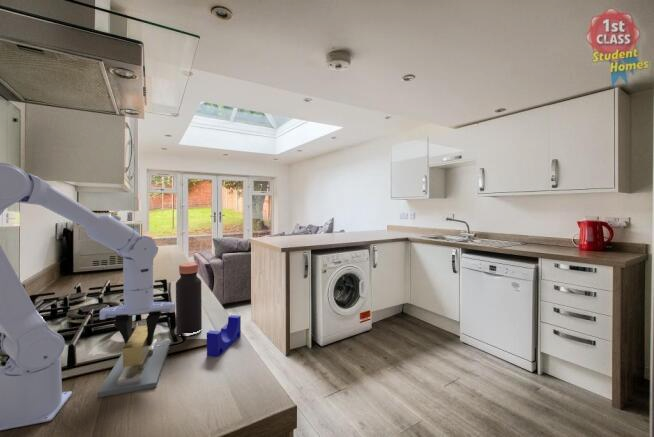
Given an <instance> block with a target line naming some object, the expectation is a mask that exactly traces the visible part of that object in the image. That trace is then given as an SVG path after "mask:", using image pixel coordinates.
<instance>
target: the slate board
mask: <svg viewBox="0 0 654 437" xmlns="http://www.w3.org/2000/svg"><path fill="white" fill-rule="evenodd" d="M170 342H171V343H172V340H171V339H168V340H157V345H164V346H161V347H156V348H155V350H154V352H153V354H151V355H147V356H146V358H145V360H144V362H147V369H146V371H145V374H144V376H143V378H142V381H141V383H135V384H129V385H123V386H118V383H117V381H118V379H119V377H120V375H121V373H122V372H123V370H124V368H125V367H123V352H122V354H121V355H120V356H119V358H118V360H116V363H115V364H114V365H113V368H112V369H111V371H110V372H109V373H108V376H107V377H106V379H105V381H103V383H102V384H101V387H100V388H99V390H98V391H97V398H102V397H108V396H109V397H110V396H114V395H119V394H125V393H131V392H138V391H143V390H148V389H154V388H157V386H158V383H159V380H160V377H161V375H162V371H163V369H164V365H165V362H166V359H167V356H168V354H167V353H169V351H168V348H169V344H170ZM157 345H156V346H157ZM169 349H170V348H169ZM144 362H143V363H144Z"/></svg>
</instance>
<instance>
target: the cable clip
mask: <svg viewBox="0 0 654 437" xmlns="http://www.w3.org/2000/svg"><path fill="white" fill-rule="evenodd" d="M241 327H242V325H241V315H238V314H237V315H235V314H231V315H229V316H228V318H227V324H225V325H224V326H223V327H222V328H221V329H220V330H211V329H210V330H209V331H207V332H206V357H215V358H219V357H220V356H221V355H222V354H223V353H224V352H225V351H226V350H227V349H229V347H230V346H232V345H233V344H234V343H235V342H236V341H237V340H238V339H239V338H240V337H241V336H242V335H241V334H242V333H241V330H242V329H241Z"/></svg>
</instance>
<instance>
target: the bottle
mask: <svg viewBox="0 0 654 437" xmlns="http://www.w3.org/2000/svg"><path fill="white" fill-rule="evenodd" d="M198 266H199V265H198V263H195V262H187V263H180V264H179V266H178V269H179V270H178V273H179V276H180V278H179V279H177V281H176V282H175V326H176V328H175V332H176V333H177V334H176V335H177V336H178V335H181V334H182V333H193V332H197V331H199V330H201V329H202V330H203V328H202V327H203V324H202V323H203V321H202V320H203V319H202V318H203V317H202V313H203V312H202V307H203V305H202V304H203V303H202V279H201V278H200V277H198V272H199V271H198V270H199V267H198ZM202 330H201V331H202Z"/></svg>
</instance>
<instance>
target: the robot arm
mask: <svg viewBox="0 0 654 437" xmlns="http://www.w3.org/2000/svg"><path fill="white" fill-rule="evenodd" d="M17 203H20V204H28V205H37V206H41V207H43V208H44V209H45V208H46V209H47V210H49V211H51V212H53V213H55V214H57V215H59V216H61V217H63V218H65V219H68V220H69V221H71V222H73V223H75V224H78V226H79V225H80V226H81V227H83V228H84V229H85V233H86V236H87V237H88V238H89V239H91V240H93V241H95V242H96V243H99V244H100V245H103V246H104V247H106V248H108V249H111V250H112V251H114V252H117V255H119V257H120V258H122V263H123V264H122V266H123V269H122V273H123V274H122V277H123V281H122V282H123V304H122V305H116V306H111V307H103V308H102V309H100V310H99V321H100V320H103V321H104V320H106V319H109V318H110V319H111V318H115V319H114V321H113V325H114V327H115V328H116V329H117V330H118V332H119V333H120V335H121V337H122V339H123V341H124V344H125V345H126V343H127V342H128V340H129V338H130V337H131V335H132V334H133V316H138V315H139V316H140V315H147V316H146V318H145V321H146V325H147V332H148V335H147V345H148V346H151V344H152V342H153V336H154V334H155V331H156V327H157V324H158V322H159V320H160V318H161V316H162V313H167V312H168V313H174V312H176V301H154V259H155V257H156V256H157V254H158V251H159V246H157V244H156V241H155V240H154V239H153V238H152V237H151V236H147V235H140V229H138V228H135V227H134V228H132V227H130V226H129V225H128V224H126V223H124V222H122V221H121V220H122V217H120V216H118V215H117V214H113V215H111V214H110V213H109V214H108V213H107V214H105V213H104V214H97V213H95V212H94V211H92V210H91V209H89V208H88V207H86V206H84V205H82V204H81V203H79V202H78V201H77V200H75V199H74V198H72V197H70V196H68V195H67V194H66V193H64V192H62V191H61V190H59V189H58V188H56V187H55V186H53V185H52V184H50V183H48V182H47V181H45V180H43V179H42V178H40V177H39V176H36V175H34V174H32V173H26V172H25V171H24V170H23V169H22V168H21V167H18V166H17V165H14V164H12V163H9V162H8V163H7V162H3V161H2V162H1V161H0V216H1V215H2V214H3V212H4V211H5V210H7V209H8V208H9V207H11V206H13V205H14V204H17ZM0 333H1V341H0V348H1V350H2V352H3V353H4V354H6V355H7V356H9V358H8V360H7V361H6V363H5V365H4V366H1V367H0V431H4V430H10V429H14V428H20V427H25V426H30V425H37V424H41V423H46V422H50V421H52V420H53V419H54V418H55V417H56V415H57V414H58V413H59V411H60V410H62V409H61V408H62V407H63V406H64V405H65V404H66V402H67V401H68V400H69V398H70V397H71V396H72V395H73V391H70V390H69V391H63V387H62V384H63V383H62V353H63V352H64V351H65V350H64V349H65V346H66V341H65V339H64V337H63V336H62V334H60V333H58V332H56V331H54V330H52V329H51V328H50V326H49V325H48V323H47V321H45V319H44V318H43V316H42V315H41V314H40V313H39V311H38V310H37V308H36V306H35V305H34V303H33V301H32V300H31V298H30V296H29V294H28V292H27V290H26V289H25V287H24V285H23V283H22V282H21V280H20V277H19V276H18V273H17V272H16V270H15V268H14V266H13V265H12V263H11V262H10V259H9V257H8V256H7V254H6V252H5V251H4V249H3V246H2V245H1V244H0ZM154 337H155V336H154ZM125 345H124V346H125Z"/></svg>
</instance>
